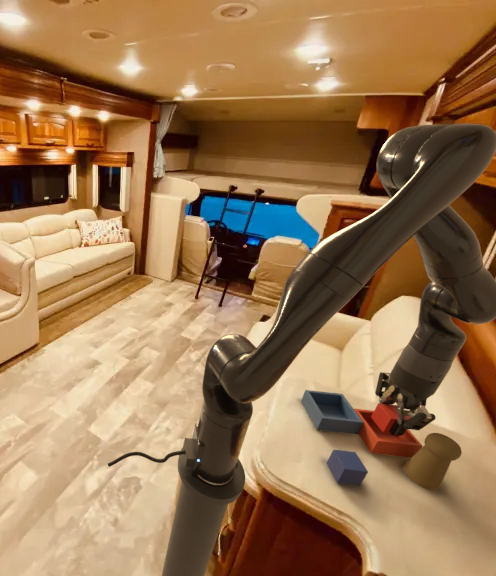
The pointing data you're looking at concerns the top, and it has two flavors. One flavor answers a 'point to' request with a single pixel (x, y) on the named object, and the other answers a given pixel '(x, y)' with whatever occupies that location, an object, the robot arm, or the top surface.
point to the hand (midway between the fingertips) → (387, 424)
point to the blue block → (346, 467)
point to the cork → (432, 461)
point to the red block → (385, 416)
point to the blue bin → (331, 412)
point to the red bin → (386, 438)
